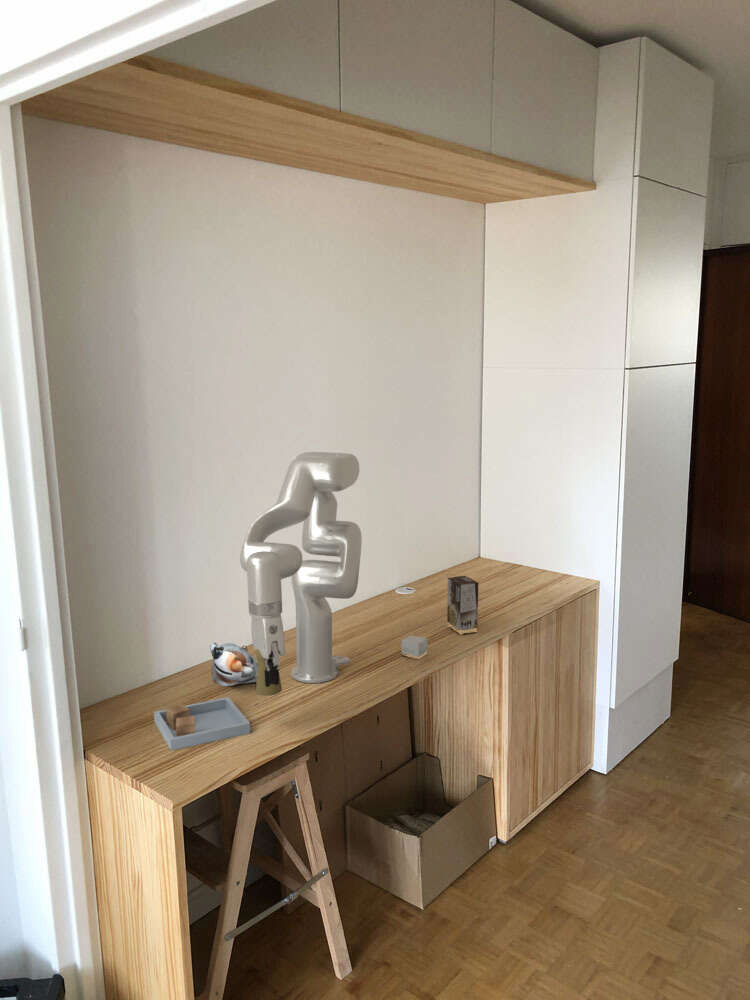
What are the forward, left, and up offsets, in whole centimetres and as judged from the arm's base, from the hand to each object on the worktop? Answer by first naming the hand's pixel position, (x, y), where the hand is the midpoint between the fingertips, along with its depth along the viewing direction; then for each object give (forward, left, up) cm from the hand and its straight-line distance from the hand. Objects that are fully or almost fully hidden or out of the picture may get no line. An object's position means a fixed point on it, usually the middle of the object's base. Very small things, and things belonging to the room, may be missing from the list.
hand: (268, 680), depth 191 cm
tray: (+15, -5, -11) cm, 19 cm away
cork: (0, 0, -3) cm, 3 cm away
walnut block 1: (+19, -9, -10) cm, 24 cm away
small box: (-52, -23, -11) cm, 58 cm away
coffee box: (-76, -35, -11) cm, 85 cm away
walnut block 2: (+19, -2, -11) cm, 22 cm away
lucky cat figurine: (-1, -28, -11) cm, 30 cm away
